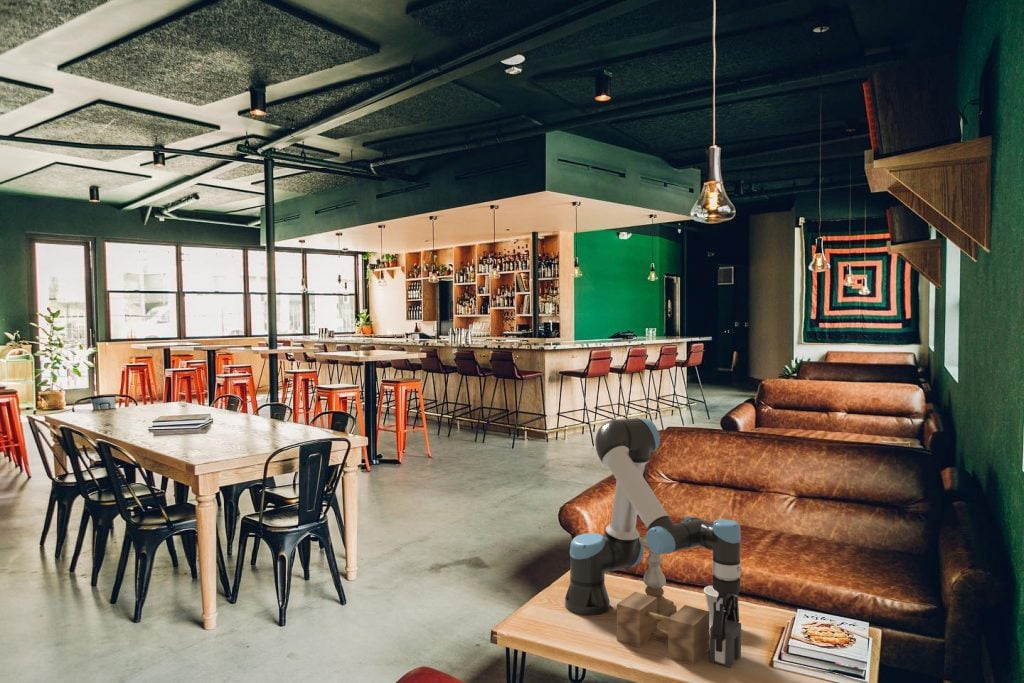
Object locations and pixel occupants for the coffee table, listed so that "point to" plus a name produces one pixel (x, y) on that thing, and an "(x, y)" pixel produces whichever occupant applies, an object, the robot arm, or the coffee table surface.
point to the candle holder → (657, 583)
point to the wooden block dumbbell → (682, 635)
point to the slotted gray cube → (728, 643)
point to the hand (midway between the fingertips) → (725, 655)
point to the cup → (710, 601)
